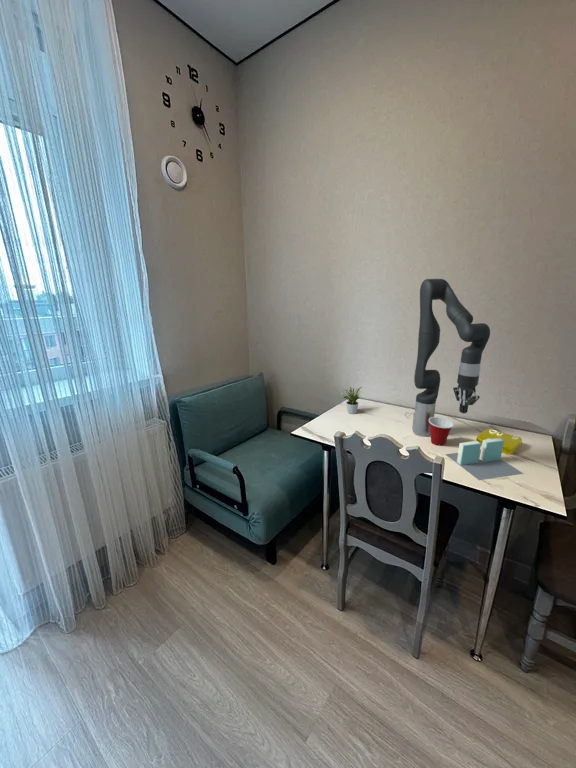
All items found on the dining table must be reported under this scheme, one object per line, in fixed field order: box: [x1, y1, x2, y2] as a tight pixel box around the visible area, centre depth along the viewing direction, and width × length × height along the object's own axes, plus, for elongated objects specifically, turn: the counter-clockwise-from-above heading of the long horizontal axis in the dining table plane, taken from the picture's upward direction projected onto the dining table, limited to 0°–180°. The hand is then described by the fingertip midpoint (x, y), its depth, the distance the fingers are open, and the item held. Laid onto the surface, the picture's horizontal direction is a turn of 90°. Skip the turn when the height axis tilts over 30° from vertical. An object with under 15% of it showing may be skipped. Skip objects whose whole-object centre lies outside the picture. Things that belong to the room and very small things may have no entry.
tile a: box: [456, 440, 482, 466], centre depth 133 cm, size 2×8×9 cm, turn 101°
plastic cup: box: [429, 416, 455, 447], centre depth 149 cm, size 11×11×12 cm
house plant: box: [340, 386, 363, 415], centre depth 190 cm, size 14×14×16 cm
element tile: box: [475, 428, 523, 455], centre depth 148 cm, size 15×15×5 cm
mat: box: [445, 449, 524, 481], centre depth 133 cm, size 20×20×1 cm
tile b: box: [480, 438, 504, 462], centre depth 135 cm, size 2×8×9 cm, turn 101°
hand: (462, 412), depth 134 cm, fingers closed
